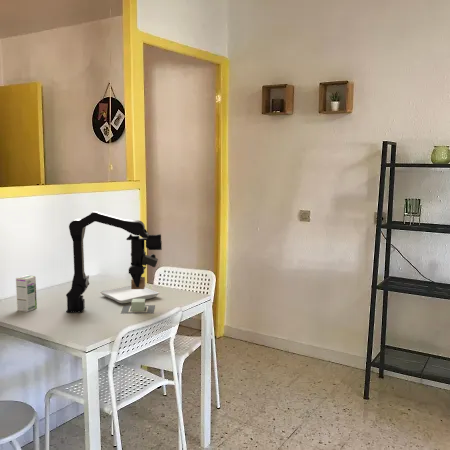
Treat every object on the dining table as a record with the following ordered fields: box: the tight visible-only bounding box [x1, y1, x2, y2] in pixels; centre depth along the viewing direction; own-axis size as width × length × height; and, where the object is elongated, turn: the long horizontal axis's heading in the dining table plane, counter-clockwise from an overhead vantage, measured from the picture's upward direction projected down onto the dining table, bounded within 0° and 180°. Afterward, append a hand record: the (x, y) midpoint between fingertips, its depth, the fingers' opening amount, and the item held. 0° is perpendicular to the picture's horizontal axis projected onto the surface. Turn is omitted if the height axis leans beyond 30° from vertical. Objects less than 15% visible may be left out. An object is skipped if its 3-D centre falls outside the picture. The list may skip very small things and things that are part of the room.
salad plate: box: [99, 285, 160, 305], centre depth 232 cm, size 21×21×3 cm
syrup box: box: [15, 274, 38, 313], centre depth 209 cm, size 6×6×14 cm
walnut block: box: [130, 276, 146, 289], centre depth 211 cm, size 6×6×4 cm
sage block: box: [130, 299, 146, 311], centre depth 212 cm, size 6×6×4 cm
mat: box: [120, 304, 156, 315], centre depth 212 cm, size 14×12×1 cm
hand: (138, 285), depth 211 cm, fingers closed on walnut block, 5 cm apart
